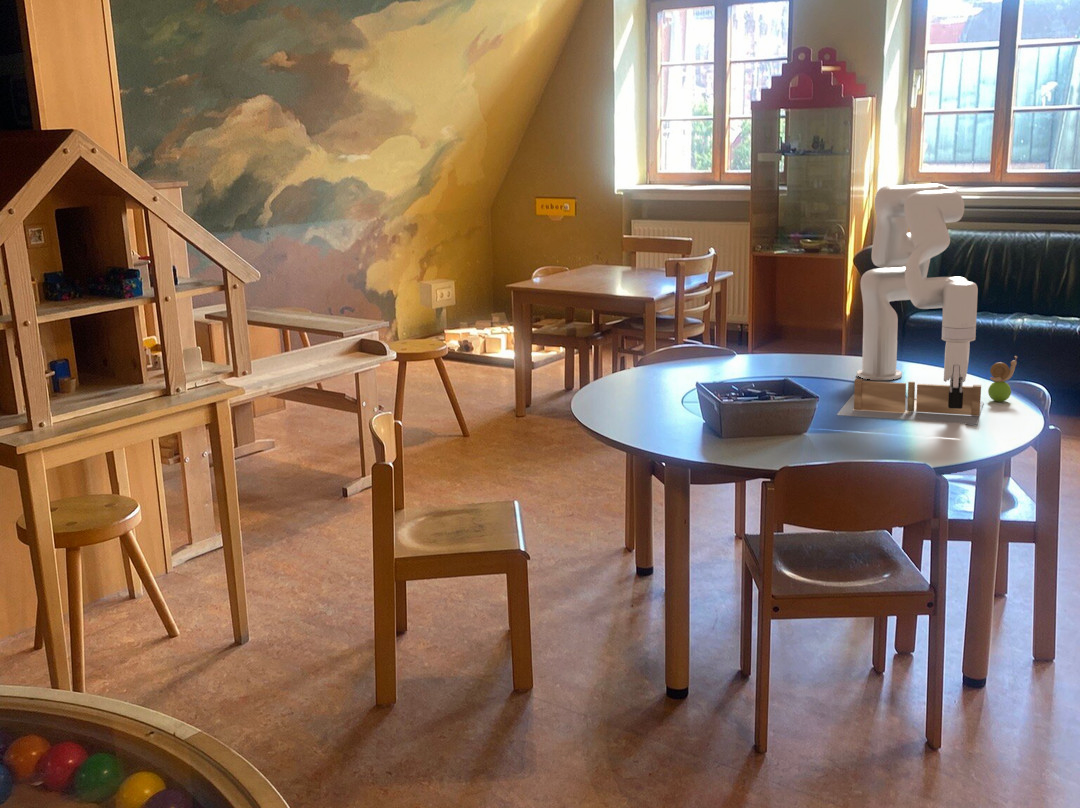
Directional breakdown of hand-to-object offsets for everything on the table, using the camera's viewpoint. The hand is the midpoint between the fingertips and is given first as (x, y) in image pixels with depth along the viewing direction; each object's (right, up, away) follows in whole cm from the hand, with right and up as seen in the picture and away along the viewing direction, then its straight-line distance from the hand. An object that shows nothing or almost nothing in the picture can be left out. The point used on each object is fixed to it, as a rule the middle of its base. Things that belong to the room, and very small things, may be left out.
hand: (955, 407), depth 250 cm
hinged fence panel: (0, -1, +7) cm, 7 cm away
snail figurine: (+19, +1, +17) cm, 26 cm away
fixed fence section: (-14, -1, +14) cm, 20 cm away
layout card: (-6, -1, +14) cm, 15 cm away
